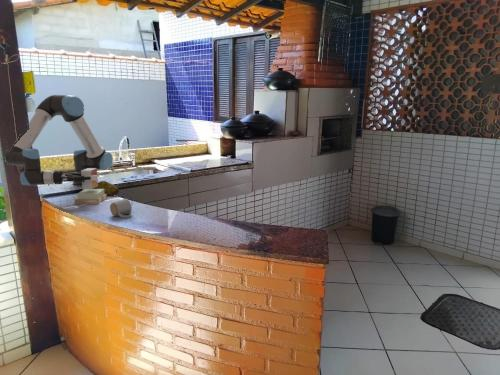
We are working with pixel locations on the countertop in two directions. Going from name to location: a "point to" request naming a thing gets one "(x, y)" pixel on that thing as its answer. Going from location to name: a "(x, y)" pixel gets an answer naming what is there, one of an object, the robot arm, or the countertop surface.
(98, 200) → the birch base slab
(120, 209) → the ceramic mug
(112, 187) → the potato
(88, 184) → the small box
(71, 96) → the robot arm
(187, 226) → the countertop surface
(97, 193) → the sage top slab
